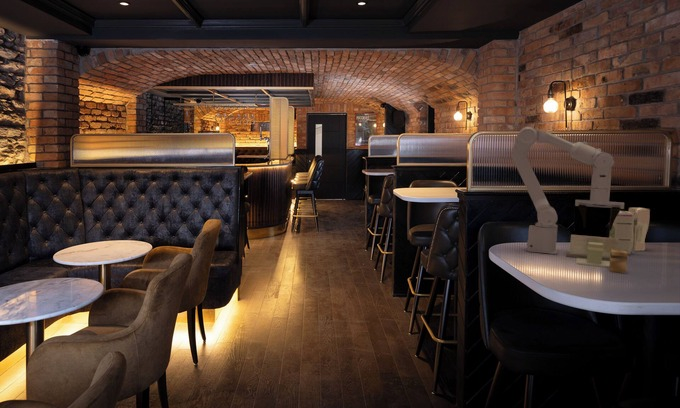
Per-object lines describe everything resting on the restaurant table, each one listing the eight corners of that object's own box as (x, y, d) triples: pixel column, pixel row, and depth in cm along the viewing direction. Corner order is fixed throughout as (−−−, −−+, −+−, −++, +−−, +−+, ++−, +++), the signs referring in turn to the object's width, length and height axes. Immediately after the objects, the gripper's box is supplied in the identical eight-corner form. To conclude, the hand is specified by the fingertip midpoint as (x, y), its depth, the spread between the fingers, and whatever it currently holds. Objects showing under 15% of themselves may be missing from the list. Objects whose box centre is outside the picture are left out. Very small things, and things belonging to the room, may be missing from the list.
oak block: (610, 271, 150) (611, 251, 149) (609, 268, 153) (610, 249, 153) (625, 273, 148) (627, 253, 147) (624, 270, 152) (626, 250, 151)
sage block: (587, 262, 158) (588, 243, 158) (586, 260, 162) (588, 241, 161) (601, 264, 157) (603, 245, 156) (600, 261, 160) (602, 243, 160)
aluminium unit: (566, 256, 169) (567, 236, 168) (566, 253, 173) (567, 233, 172) (620, 262, 162) (622, 240, 161) (619, 259, 167) (621, 238, 166)
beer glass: (634, 246, 188) (638, 207, 186) (651, 250, 181) (655, 209, 179) (619, 247, 186) (623, 207, 184) (636, 251, 179) (640, 210, 177)
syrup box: (631, 254, 174) (634, 213, 172) (612, 253, 175) (616, 212, 174) (625, 251, 180) (628, 210, 178) (607, 250, 181) (610, 210, 179)
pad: (576, 264, 158) (576, 262, 158) (576, 259, 165) (576, 258, 165) (612, 267, 154) (612, 266, 154) (610, 263, 161) (610, 261, 161)
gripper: (576, 187, 168) (573, 228, 169) (626, 190, 161) (622, 232, 163) (576, 186, 174) (573, 225, 176) (624, 188, 168) (620, 229, 169)
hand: (597, 228), depth 170 cm, fingers open, 7 cm apart
